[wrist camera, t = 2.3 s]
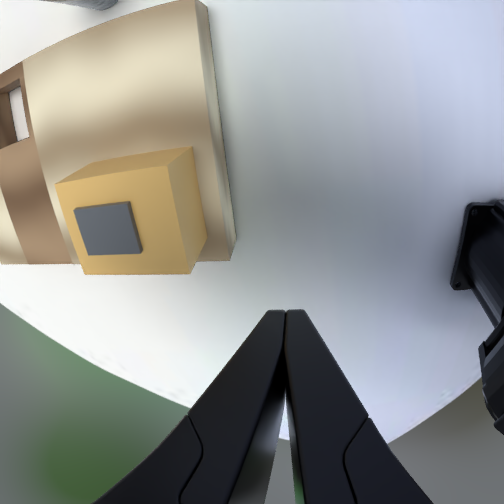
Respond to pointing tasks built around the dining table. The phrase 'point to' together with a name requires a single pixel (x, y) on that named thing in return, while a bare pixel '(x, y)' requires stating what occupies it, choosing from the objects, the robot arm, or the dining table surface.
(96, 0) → the peg
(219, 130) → the subfloor board
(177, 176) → the block
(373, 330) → the dining table surface
